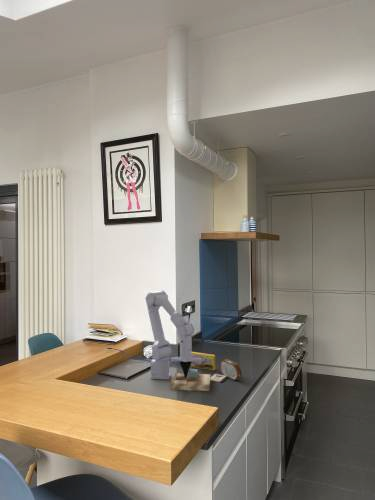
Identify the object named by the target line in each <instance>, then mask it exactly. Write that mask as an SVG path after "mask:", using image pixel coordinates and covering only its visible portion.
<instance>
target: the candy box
mask: <svg viewBox="0 0 375 500" xmlns="http://www.w3.org/2000/svg"><path fill="white" fill-rule="evenodd" d="M192 357H196V358H201V363H197V362H191V365H190V367H192V368H196V369H201V370H202V369H203V370H209V371H216V355H215V354H210V353H209V354H208V353H204V352H203V353H202V352H197V351H192Z"/></svg>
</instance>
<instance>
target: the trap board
mask: <svg viewBox="0 0 375 500" xmlns="http://www.w3.org/2000/svg"><path fill="white" fill-rule="evenodd" d="M211 375H212V373H211V374H210V373H208V374H207V373H199V372H198V378H189V372H188V376H187V378H185V377H184V373H179V372H178V373H176V372H175V373H174V375H173V378H171V379H172V380H171V382H170V390H173V391H198V392H199V391H200V392H201V391H203V392H205V391H206V392H210V387H211V382H212V381H211Z"/></svg>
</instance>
